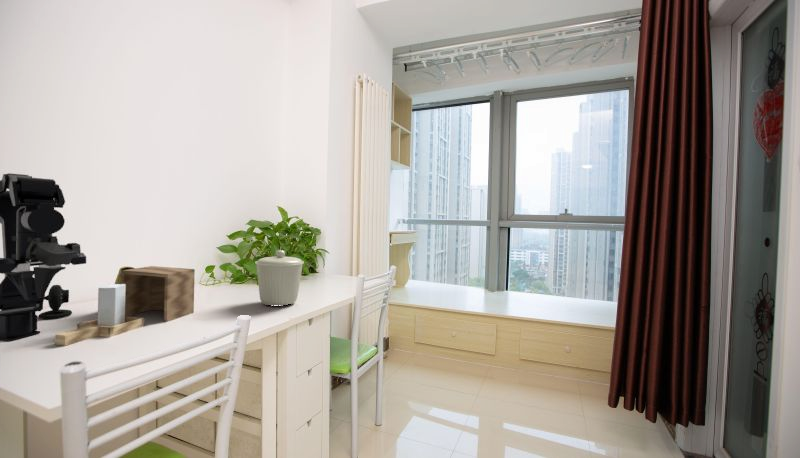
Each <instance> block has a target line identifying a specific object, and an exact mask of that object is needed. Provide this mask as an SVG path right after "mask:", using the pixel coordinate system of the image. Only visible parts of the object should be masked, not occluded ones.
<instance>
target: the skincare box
mask: <svg viewBox="0 0 800 458" xmlns="http://www.w3.org/2000/svg"><path fill="white" fill-rule="evenodd" d="M97 289H98V290H97V291H98V294H97V295H98V296H97V319H98V325H101V326H110V327H112V326H115V325H119V324H122V323H125V291H126V284H115V283H110V284H106V285H103V286H100V287H98V288H97Z"/></svg>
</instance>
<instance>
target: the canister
mask: <svg viewBox="0 0 800 458" xmlns="http://www.w3.org/2000/svg"><path fill="white" fill-rule="evenodd" d="M254 263H255V265H256V273H257V283H258V292H259V299H260V301H261V304H262V305H264V304H265V305H264V306H266V305H273V306H274V305H278V306H279V305H288V304H291V305H293V304H295V302H296V301H297V300H298V295H299V290H300V285H301V284H300V283H301V278H302V277H301V276H302V272H303V271H302V270H303V265H304V263H305V262H304V260H302V259H300V258H298V257H295V256H286V251H284V250H283V249H278V250H276V251H275V256H267V257H266V256H265V257H262V258H259V259H258V260H256V261H255V262H254ZM292 303H293V304H292ZM288 306H289V305H288Z"/></svg>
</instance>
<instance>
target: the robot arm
mask: <svg viewBox="0 0 800 458" xmlns="http://www.w3.org/2000/svg"><path fill="white" fill-rule="evenodd" d="M65 203H66V200H65V197H64V193H63V190H62V189H61V188H60V184H58V183H56V180H55V179H54V178H53V179H51V178H39V177H33V176H31V175H28V174H23V173H22V174H19V173H10V172H9V173H3V174H2V177H1V179H0V224H1V235H2V237H1V238H2V251H3V253H2V255H3V256H2V257H0V274H3V275H4V278H3V279H2V280H1V282H0V341H14V340H18V339H19V340H20V339H23V338H26V337H30V336H33V335H37V334H40V333H41V331H40V330H38V314H36V312H42V310H44V301H45V300H44V297H45V296H46V292H47V290H48V288H49V286H50V284H51V282H52V280H53V279H54V277H55V276H56V275H57V274H58V273H59V272H61V271H62V270H66V265H67V266H68V265H70V264H71V265H73V266H76V265H84V264H87V255H86V254H85V253H84V252H81V244H79V243H76V242H68V243H67V244H60V243H59V242H58V241H59V239H58V237H57V236H56V235H55V236H54V235H53V234H55V233H58V232H60V231H61V230H62V229H63V227H64V225H65V223H66V222H65V218H64V216H63V214H62V213H61V212H60V211H58V210H57V209H55V208H62V209H63V208H64V205H65ZM62 265H65V266H62ZM33 266H34V267H33ZM31 267H33V270H31Z"/></svg>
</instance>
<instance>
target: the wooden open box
mask: <svg viewBox="0 0 800 458" xmlns="http://www.w3.org/2000/svg"><path fill="white" fill-rule="evenodd" d="M134 268H135V267H134ZM195 271H196V270H195V269H194V268H181V267H170V266H169V267H168V266H156V265H154V266H152V265H151V266H150V265H149V266H145V267H138V268H137V267H136V268H135V269H129V270H122V271H121V284H126V291H125V316H128V317H131V316H133V315H136V314H140V313H143V312H144V313H145V312H147V311H150V310H154V311H163V313H164V314H163V317H164V318H163V321H164V322H165V323H167V322H171V321H173V320H176V319H178V318H179V319H180V318H182V317H186V316H188V315H191V314H194V313H195V308H194V307H195V275H196V273H195ZM193 312H194V313H193ZM190 313H191V314H190Z"/></svg>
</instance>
